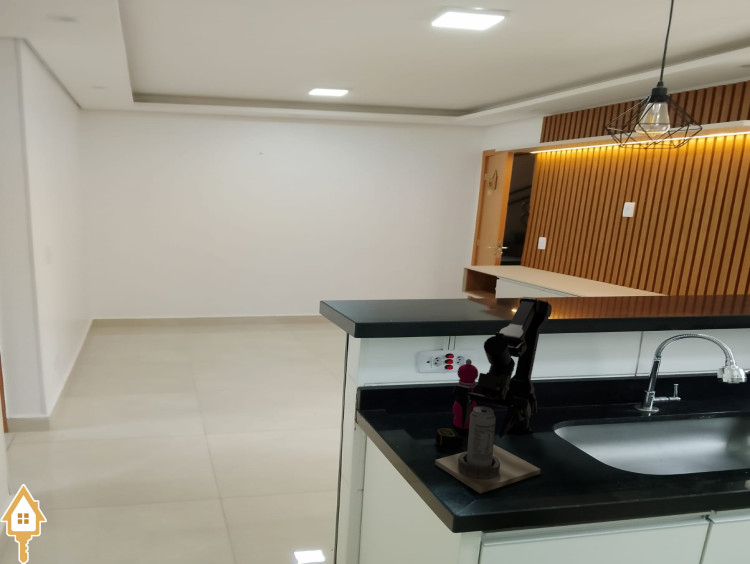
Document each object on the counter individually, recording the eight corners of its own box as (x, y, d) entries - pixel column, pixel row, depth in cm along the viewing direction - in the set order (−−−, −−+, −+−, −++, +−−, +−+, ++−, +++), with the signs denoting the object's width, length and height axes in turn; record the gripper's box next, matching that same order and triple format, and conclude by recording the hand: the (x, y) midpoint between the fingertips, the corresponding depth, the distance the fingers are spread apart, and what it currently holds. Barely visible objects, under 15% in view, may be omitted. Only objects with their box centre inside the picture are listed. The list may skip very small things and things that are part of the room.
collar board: (493, 448, 152) (494, 435, 151) (540, 473, 139) (541, 459, 138) (435, 464, 141) (436, 450, 140) (480, 493, 128) (481, 478, 127)
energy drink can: (488, 464, 140) (493, 406, 138) (493, 475, 134) (498, 415, 132) (464, 463, 140) (468, 404, 138) (468, 474, 134) (472, 413, 132)
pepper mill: (480, 428, 165) (485, 362, 162) (457, 430, 163) (462, 363, 160) (469, 419, 172) (474, 355, 169) (447, 421, 170) (452, 356, 167)
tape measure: (464, 449, 151) (465, 436, 150) (441, 451, 149) (442, 438, 148) (453, 439, 157) (454, 426, 157) (430, 441, 155) (431, 428, 154)
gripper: (457, 353, 142) (437, 408, 134) (532, 366, 133) (515, 426, 125) (466, 375, 150) (448, 428, 142) (537, 390, 141) (521, 447, 133)
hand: (481, 432), depth 135 cm, fingers open, 9 cm apart
